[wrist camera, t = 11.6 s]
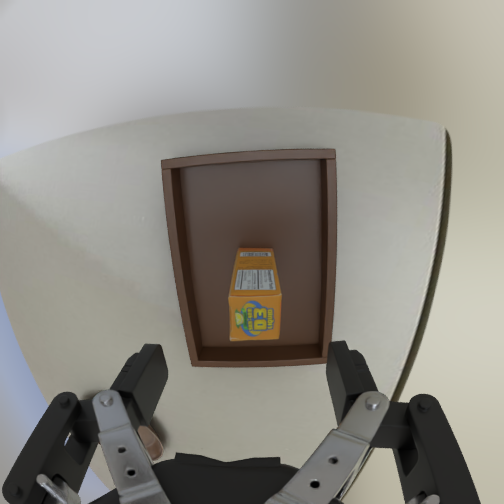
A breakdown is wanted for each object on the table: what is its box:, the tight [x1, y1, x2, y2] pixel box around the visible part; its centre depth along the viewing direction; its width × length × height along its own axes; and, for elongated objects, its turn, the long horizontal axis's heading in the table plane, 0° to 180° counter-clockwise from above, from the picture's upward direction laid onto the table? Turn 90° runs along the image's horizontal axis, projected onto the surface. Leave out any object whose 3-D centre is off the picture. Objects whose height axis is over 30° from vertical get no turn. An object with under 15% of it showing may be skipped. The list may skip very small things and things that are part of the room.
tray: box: [161, 149, 337, 367], centre depth 25 cm, size 20×14×3 cm
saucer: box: [99, 425, 163, 461], centre depth 34 cm, size 15×15×3 cm
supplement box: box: [228, 248, 282, 341], centre depth 21 cm, size 3×3×10 cm
